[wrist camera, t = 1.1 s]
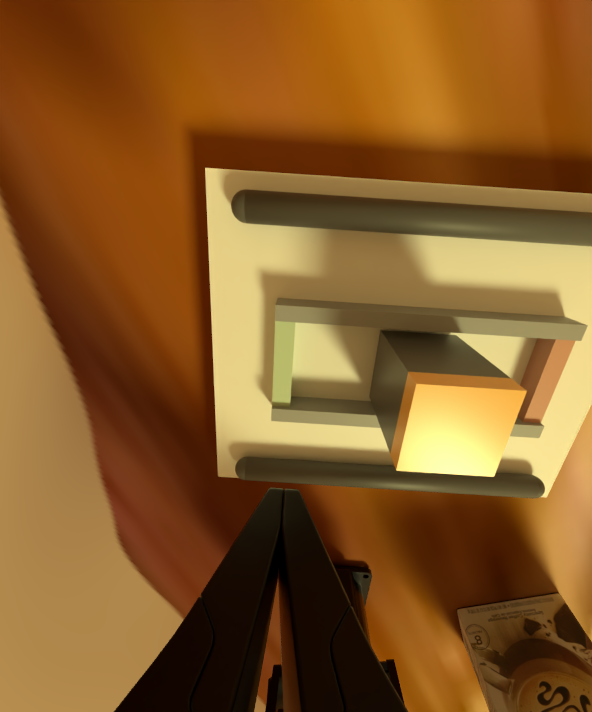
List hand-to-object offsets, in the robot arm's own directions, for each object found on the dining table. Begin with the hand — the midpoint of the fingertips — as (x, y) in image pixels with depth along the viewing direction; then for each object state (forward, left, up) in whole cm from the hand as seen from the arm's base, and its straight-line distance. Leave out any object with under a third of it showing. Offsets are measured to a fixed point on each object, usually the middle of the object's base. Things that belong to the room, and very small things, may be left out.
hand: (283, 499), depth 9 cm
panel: (0, -6, -12) cm, 14 cm away
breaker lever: (0, -6, -10) cm, 12 cm away
